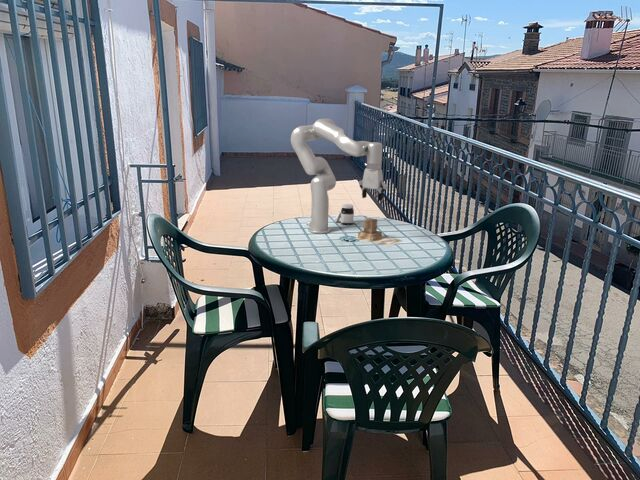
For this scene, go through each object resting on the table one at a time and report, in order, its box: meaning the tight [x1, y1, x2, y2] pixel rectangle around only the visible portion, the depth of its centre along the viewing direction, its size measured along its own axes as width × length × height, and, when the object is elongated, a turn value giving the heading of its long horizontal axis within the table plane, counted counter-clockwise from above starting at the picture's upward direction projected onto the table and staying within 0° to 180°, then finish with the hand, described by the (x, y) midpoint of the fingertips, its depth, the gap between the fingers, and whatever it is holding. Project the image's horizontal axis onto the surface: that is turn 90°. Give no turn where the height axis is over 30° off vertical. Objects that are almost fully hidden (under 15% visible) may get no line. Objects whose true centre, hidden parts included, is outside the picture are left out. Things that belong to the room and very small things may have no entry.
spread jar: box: [334, 203, 355, 226], centre depth 303 cm, size 12×11×12 cm
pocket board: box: [354, 229, 404, 247], centre depth 269 cm, size 22×14×4 cm, turn 52°
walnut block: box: [363, 217, 378, 234], centre depth 271 cm, size 5×5×10 cm
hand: (371, 199), depth 266 cm, fingers open, 9 cm apart
